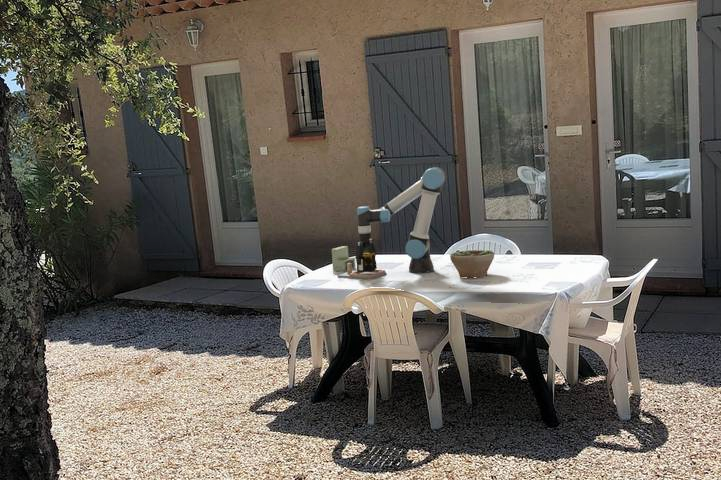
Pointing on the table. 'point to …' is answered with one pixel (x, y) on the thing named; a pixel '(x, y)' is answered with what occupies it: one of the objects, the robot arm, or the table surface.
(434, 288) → the table surface
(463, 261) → the planter
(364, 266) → the candle
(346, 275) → the pin board
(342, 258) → the feeder
